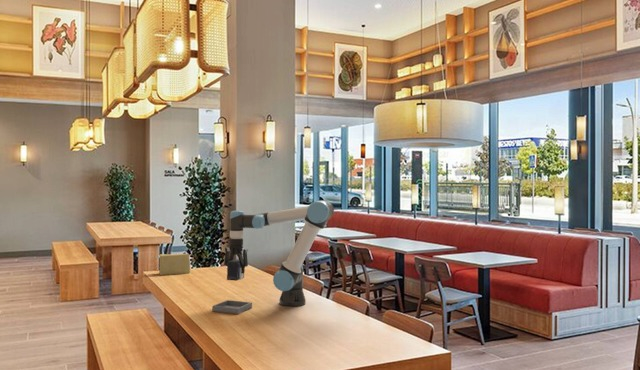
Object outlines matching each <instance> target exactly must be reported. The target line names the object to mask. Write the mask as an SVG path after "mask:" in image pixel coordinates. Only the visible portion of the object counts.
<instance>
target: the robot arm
mask: <svg viewBox="0 0 640 370" xmlns="http://www.w3.org/2000/svg"><path fill="white" fill-rule="evenodd" d="M334 212H335V208H334V205H333V204H332V203H331V202H330V201H328V200H325V199H324V200H315V201H313V202H311V203H310V204H309V205H307V206H301V207H295V208H290V209H289V208H288V209H284V210H275V211H270V212H263V213H257V214H245V213H244V210H232V211H230V214H229V215H230V216H229V247H225V249H224V251H225V253H224V254H225V255H224V262H223V263H224V265H223V266H225V267H227V264H228V261H231V260H234V257H235V255H236V256H237V259H238V260H239V262H240V265H241V267H240V280H243V279H244V278H243V273H244V274H245V272H246V271H245V268H247V267H248V266H249V263H248V251H249V250H248V248H244V229H255V230H256V229H263V228H264V227H268V226H273V225H280V224H287V223H292V222H293V223H294V222H302V221H304V224H303V227H302V229H301V231H300V233H299V234H298V237H297V239H296V241H295V243H294V245H293V247H292V249H291V251H290V253H289V255H288V256H287V259H286V260H285V261H283V262H282V263H281V265H280V266H279V269H278V270H277V271H276V272H275V273H274V274H273V278H272V282H273V285H274V287H275V288H276V289H277V290H278V291H280V292H281V294H280V297H279V304H280V305H281V306H286V307H301V306H304V305H306V297H305V294H304V266H303V264H304V261H305V259H306V258H307V256H308V253H309V251H310V249H311V248H312V245H313V243H314V242H315V239H316V237H317V236H318V233H319V232H320V230H324V228H325V226H326V224H327V222H328V221H329V220H331V218H332V217H333V216H334V214H335V213H334Z"/></svg>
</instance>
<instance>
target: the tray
mask: <svg viewBox="0 0 640 370" xmlns="http://www.w3.org/2000/svg"><path fill="white" fill-rule="evenodd" d="M252 308H253V302H250V301H249V302H248V301H243V300H241V301H240V300H232V299H226V300H224V301H222V302H219V303H216V304H214V305H212V309H211V310H212V312H213V311H214V312H215V313H223V314H230V313H231V315H240V314H242V313H244V312H246V311H248V310H251V309H252Z"/></svg>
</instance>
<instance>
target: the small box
mask: <svg viewBox="0 0 640 370" xmlns="http://www.w3.org/2000/svg"><path fill="white" fill-rule="evenodd" d="M226 267H227V268H226V269H227V271H226V272H227V273H226V281H239V280H240V267H241V265H240V262H239V258H237V259H236V258H235V259H234V258H233V260H231V261H228V264H227V266H226ZM244 278H245V272H244V273H243V279H244Z"/></svg>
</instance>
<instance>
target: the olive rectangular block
mask: <svg viewBox="0 0 640 370" xmlns="http://www.w3.org/2000/svg"><path fill="white" fill-rule="evenodd" d="M190 261H191V260H190V254H189V253H175V254H173V253H171V254H168V253H167V254H166V253H159V263H158V264H159V269H158V270H159V271H158V272H159V273H158V274H159V275H160V276H167V275H183V274H185V273H187V274H191V262H190Z"/></svg>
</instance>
